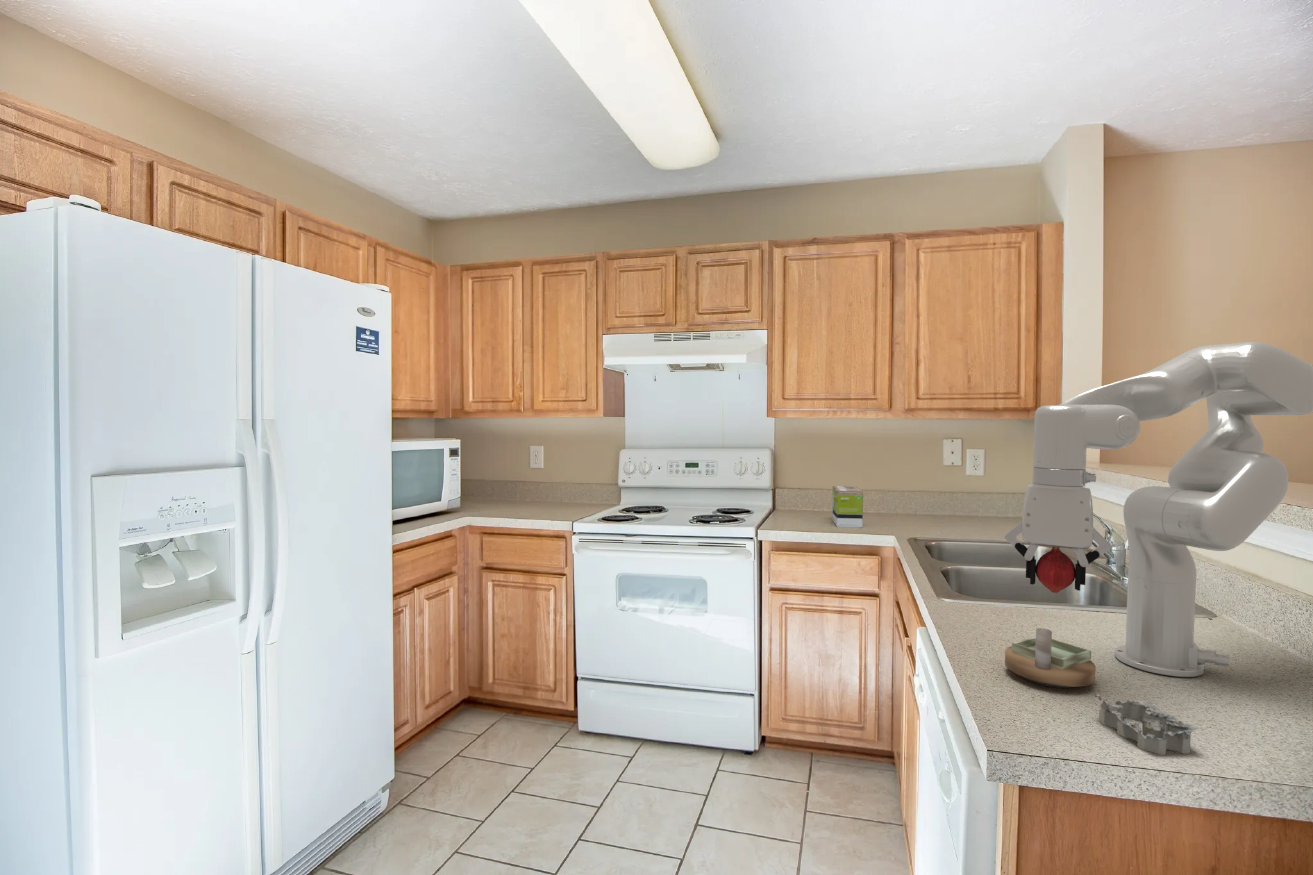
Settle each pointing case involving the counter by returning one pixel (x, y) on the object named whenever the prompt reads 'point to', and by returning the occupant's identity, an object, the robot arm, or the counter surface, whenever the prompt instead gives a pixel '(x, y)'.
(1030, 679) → the turntable base
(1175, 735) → the egg carton
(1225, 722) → the counter surface
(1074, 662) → the disc
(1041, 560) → the onion
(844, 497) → the tea box
